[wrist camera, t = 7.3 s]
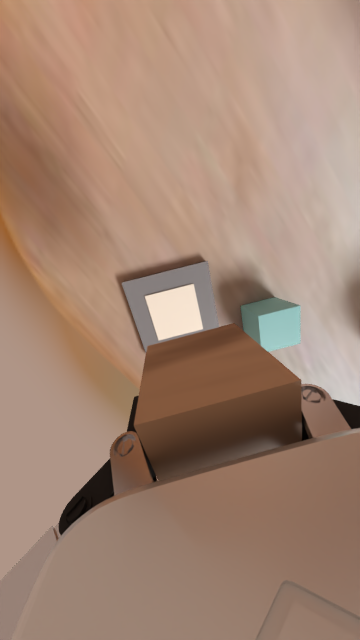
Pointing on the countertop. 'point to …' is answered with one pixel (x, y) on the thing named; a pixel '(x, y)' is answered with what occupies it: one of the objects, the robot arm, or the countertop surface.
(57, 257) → the countertop surface
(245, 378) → the walnut block
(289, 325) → the teal block
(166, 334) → the grey square plate
